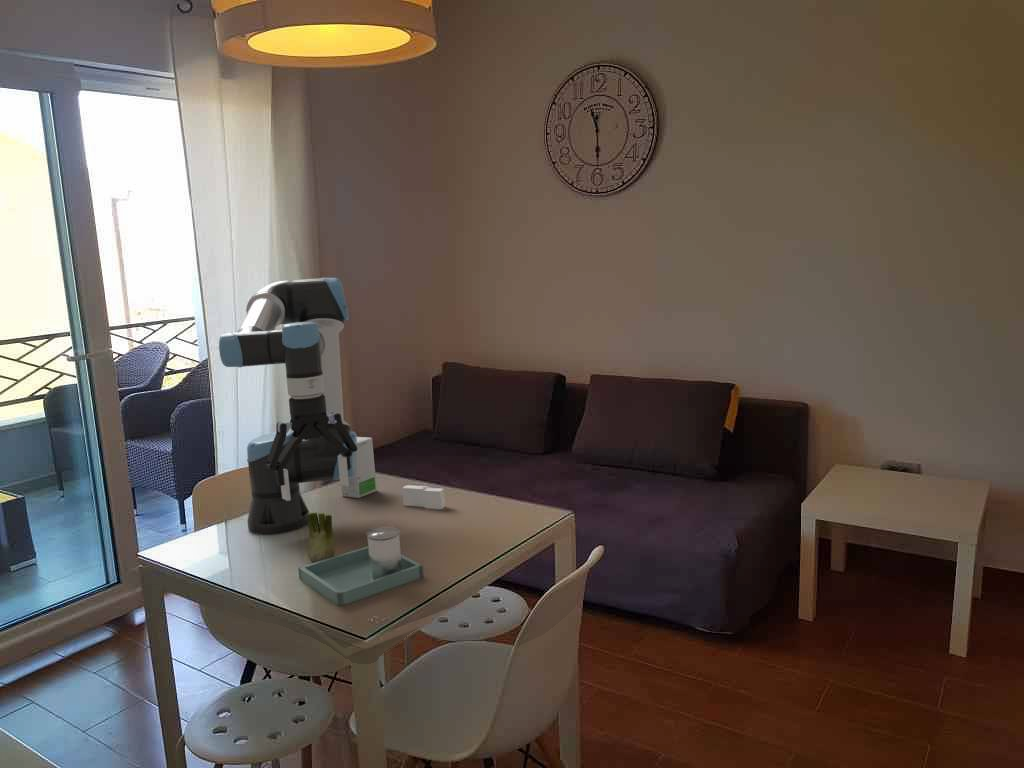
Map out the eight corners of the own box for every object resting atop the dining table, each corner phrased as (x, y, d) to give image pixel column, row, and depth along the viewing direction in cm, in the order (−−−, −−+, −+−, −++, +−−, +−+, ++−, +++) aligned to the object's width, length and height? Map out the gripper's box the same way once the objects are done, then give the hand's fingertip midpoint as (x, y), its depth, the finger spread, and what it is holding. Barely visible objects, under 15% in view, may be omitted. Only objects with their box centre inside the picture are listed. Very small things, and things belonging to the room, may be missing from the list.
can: (364, 579, 168) (360, 532, 167) (392, 570, 172) (388, 524, 171) (380, 588, 163) (376, 540, 161) (409, 579, 167) (405, 531, 165)
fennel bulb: (339, 564, 180) (334, 512, 178) (320, 571, 176) (314, 518, 174) (324, 558, 184) (319, 507, 182) (305, 565, 180) (300, 513, 178)
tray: (300, 583, 170) (298, 567, 170) (380, 557, 182) (378, 542, 181) (339, 611, 157) (338, 593, 156) (423, 581, 168) (422, 565, 167)
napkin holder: (393, 506, 219) (391, 485, 218) (431, 497, 225) (429, 477, 224) (417, 520, 207) (416, 498, 206) (457, 510, 213) (455, 489, 212)
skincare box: (358, 499, 225) (353, 444, 223) (340, 496, 229) (335, 442, 226) (378, 490, 232) (373, 437, 230) (360, 487, 236) (355, 435, 233)
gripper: (256, 407, 163) (267, 509, 167) (367, 388, 178) (375, 482, 182) (242, 402, 169) (253, 501, 172) (351, 385, 184) (359, 476, 188)
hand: (316, 492), depth 177 cm, fingers open, 13 cm apart
